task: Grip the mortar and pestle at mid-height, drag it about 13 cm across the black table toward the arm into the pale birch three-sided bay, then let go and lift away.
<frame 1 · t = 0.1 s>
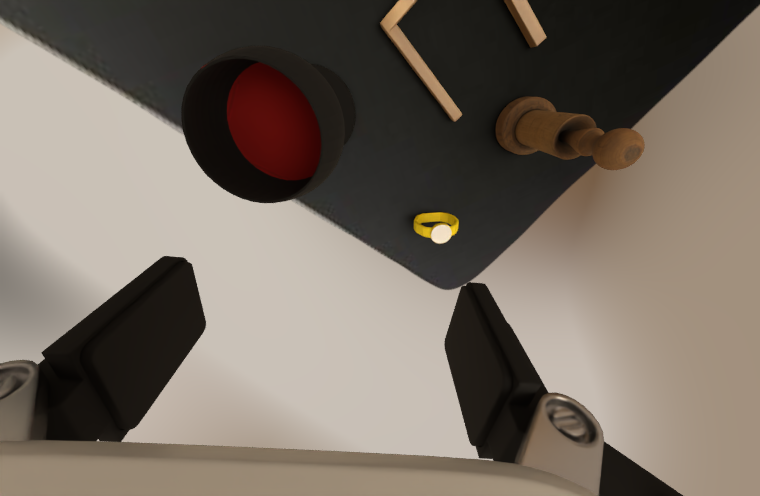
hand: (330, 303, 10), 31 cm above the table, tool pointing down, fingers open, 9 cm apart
wine glass: (314, 113, 36), on the table
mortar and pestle: (520, 125, 37), on the table
bay: (464, 37, 32), on the table
watch: (432, 216, 43), on the table
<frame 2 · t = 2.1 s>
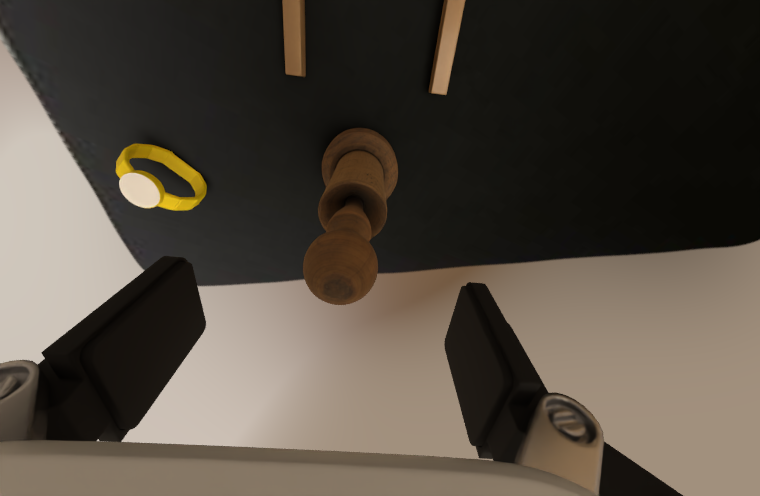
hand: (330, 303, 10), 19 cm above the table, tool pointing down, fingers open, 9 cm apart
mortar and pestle: (361, 165, 26), on the table
watch: (185, 168, 26), on the table
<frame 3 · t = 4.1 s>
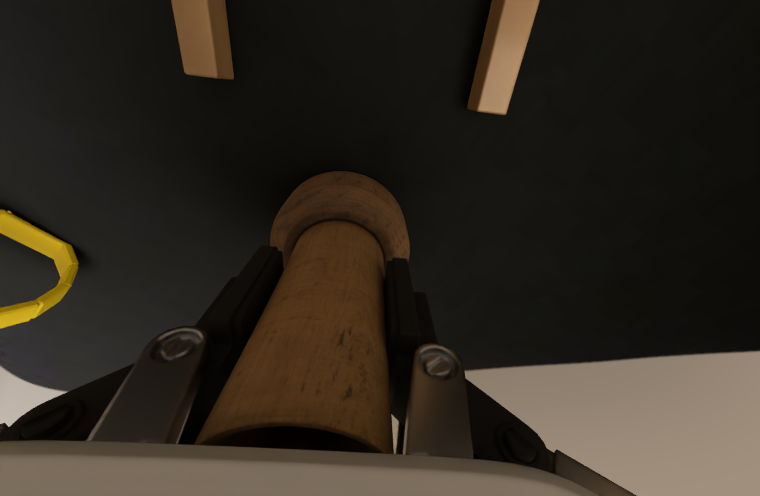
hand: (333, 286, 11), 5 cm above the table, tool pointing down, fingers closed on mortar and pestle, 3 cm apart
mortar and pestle: (345, 230, 15), on the table, touching gripper
watch: (45, 235, 15), on the table
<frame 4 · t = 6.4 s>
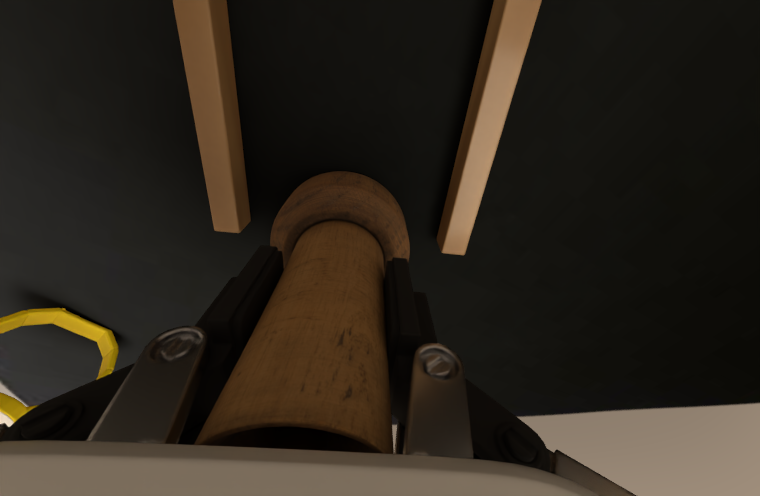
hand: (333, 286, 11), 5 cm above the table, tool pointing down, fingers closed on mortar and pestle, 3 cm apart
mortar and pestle: (345, 230, 15), on the table, touching gripper
bay: (353, 105, 12), on the table
watch: (90, 322, 19), on the table
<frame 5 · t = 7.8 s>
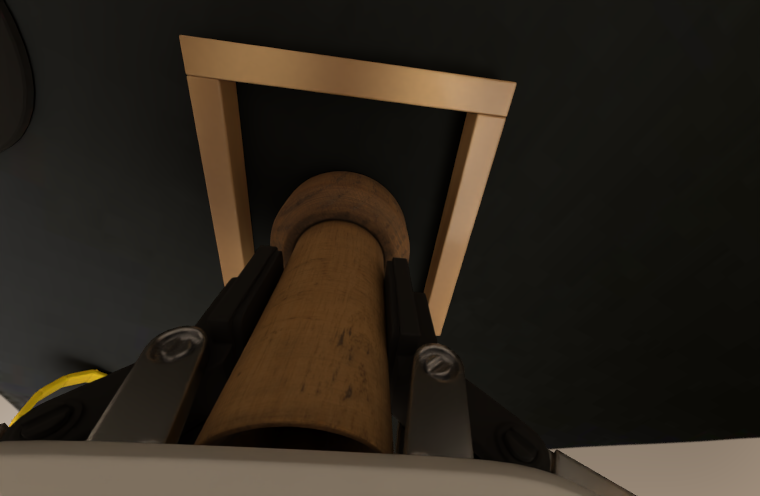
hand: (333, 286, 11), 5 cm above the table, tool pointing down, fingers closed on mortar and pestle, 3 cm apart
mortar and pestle: (345, 230, 15), on the table, touching gripper
bay: (346, 223, 15), on the table
watch: (117, 378, 21), on the table
when the fingers open (5 cm above the table, at t = 8.6 s): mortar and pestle stays where it is, on the table.
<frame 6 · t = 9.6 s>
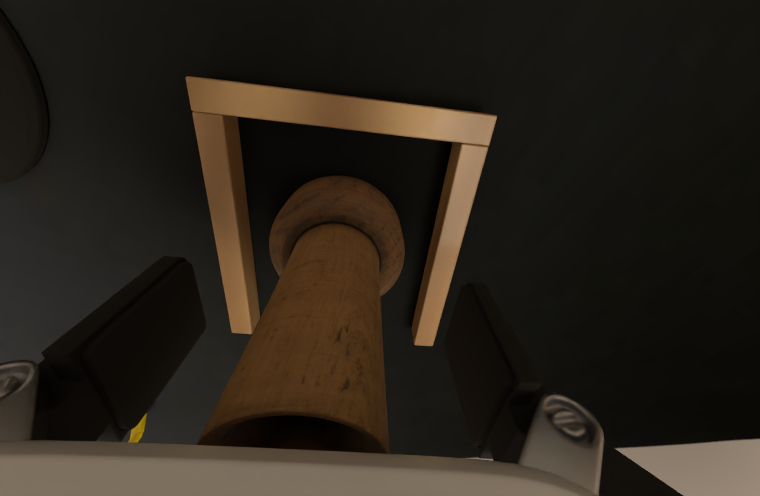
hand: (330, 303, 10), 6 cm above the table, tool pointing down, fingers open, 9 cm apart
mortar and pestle: (342, 233, 16), on the table
bay: (341, 241, 16), on the table
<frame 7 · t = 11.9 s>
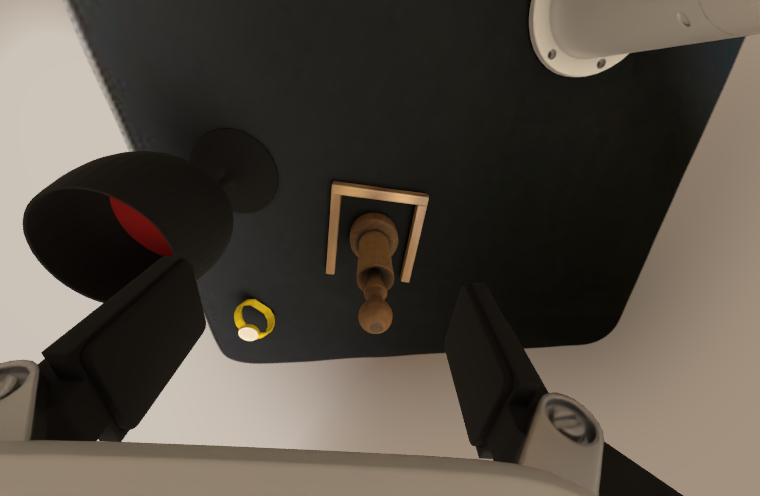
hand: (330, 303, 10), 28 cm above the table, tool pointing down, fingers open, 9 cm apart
wine glass: (236, 172, 36), on the table
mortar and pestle: (373, 233, 40), on the table
bay: (373, 237, 40), on the table
watch: (261, 305, 46), on the table
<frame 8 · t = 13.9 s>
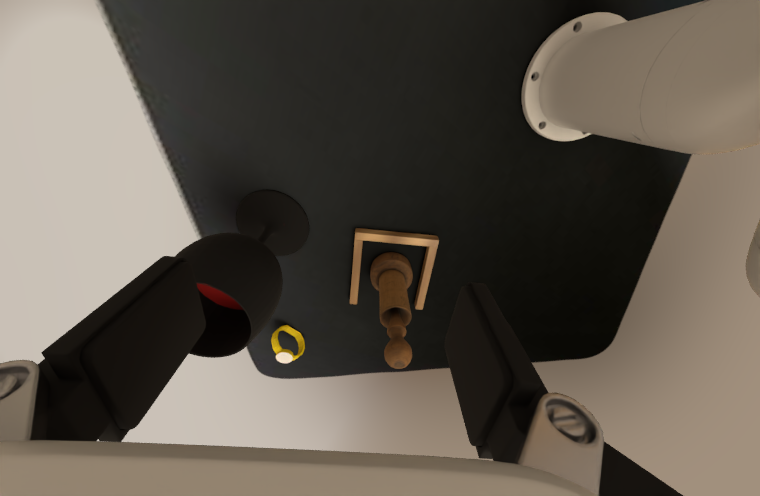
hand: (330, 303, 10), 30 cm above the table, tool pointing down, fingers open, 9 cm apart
wine glass: (274, 223, 42), on the table
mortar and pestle: (390, 269, 46), on the table
bay: (390, 272, 46), on the table
watch: (292, 329, 52), on the table
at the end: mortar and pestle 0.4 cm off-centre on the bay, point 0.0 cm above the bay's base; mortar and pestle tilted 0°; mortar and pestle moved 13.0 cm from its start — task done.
